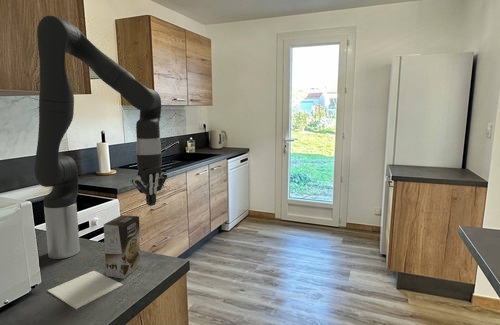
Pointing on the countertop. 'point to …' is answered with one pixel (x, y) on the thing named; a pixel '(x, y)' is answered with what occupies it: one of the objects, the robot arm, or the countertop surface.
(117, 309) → the countertop surface
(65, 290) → the mat
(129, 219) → the coffee box
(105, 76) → the robot arm
